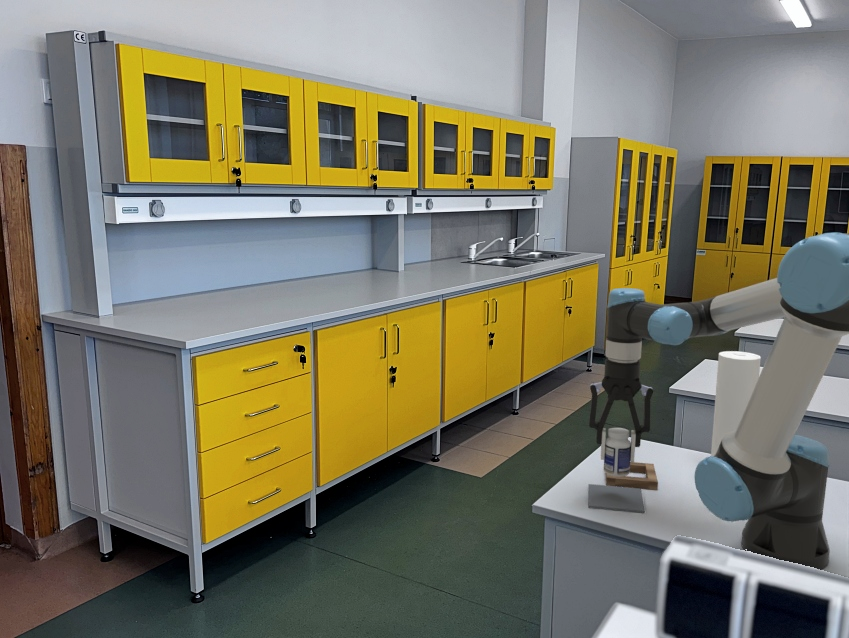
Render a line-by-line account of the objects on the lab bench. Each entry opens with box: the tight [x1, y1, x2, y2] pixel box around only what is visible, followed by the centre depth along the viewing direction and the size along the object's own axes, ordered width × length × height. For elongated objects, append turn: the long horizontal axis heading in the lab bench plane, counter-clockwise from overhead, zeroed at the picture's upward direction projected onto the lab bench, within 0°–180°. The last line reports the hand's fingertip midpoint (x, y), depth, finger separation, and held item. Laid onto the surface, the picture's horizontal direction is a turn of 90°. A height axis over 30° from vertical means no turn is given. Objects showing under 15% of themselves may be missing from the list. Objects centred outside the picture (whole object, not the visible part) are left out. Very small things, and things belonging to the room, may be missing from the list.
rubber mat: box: [587, 483, 646, 514], centre depth 158 cm, size 12×12×1 cm
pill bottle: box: [603, 427, 631, 477], centre depth 156 cm, size 6×6×10 cm
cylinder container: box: [710, 350, 762, 456], centre depth 173 cm, size 9×9×30 cm
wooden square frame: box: [605, 461, 659, 491], centre depth 169 cm, size 12×12×2 cm
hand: (617, 458), depth 156 cm, fingers closed on pill bottle, 6 cm apart
